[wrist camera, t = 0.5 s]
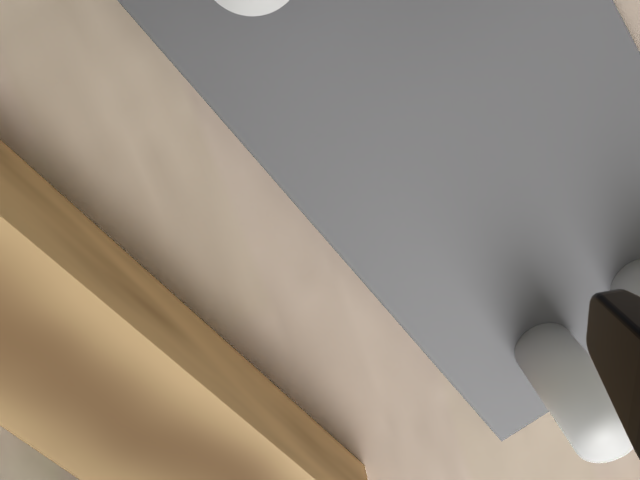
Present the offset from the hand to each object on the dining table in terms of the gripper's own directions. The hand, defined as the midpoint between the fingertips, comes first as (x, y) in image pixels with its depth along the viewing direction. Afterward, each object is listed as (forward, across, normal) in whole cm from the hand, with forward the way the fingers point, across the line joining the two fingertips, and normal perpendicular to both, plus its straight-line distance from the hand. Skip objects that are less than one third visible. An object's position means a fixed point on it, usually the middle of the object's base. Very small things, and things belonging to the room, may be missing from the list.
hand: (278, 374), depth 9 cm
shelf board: (+13, +7, +9) cm, 17 cm away
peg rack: (+14, -7, +3) cm, 15 cm away
